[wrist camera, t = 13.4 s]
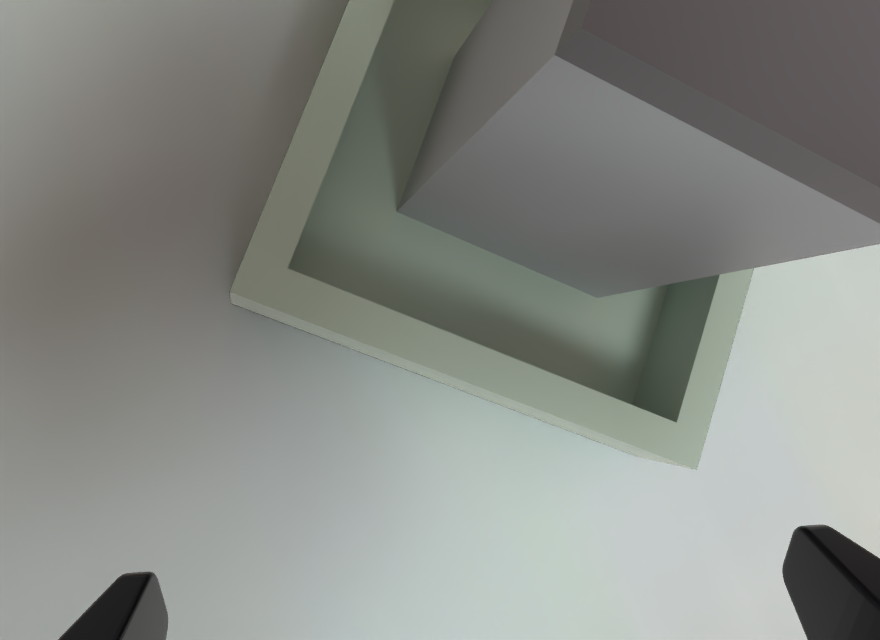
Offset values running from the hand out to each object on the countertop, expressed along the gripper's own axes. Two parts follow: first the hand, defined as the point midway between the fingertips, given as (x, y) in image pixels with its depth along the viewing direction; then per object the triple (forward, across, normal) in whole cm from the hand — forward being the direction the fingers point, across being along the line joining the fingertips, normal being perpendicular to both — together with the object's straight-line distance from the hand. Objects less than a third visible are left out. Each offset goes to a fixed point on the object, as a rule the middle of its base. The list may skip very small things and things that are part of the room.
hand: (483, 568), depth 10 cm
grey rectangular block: (+13, -3, -2) cm, 13 cm away
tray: (+14, -3, -1) cm, 14 cm away
